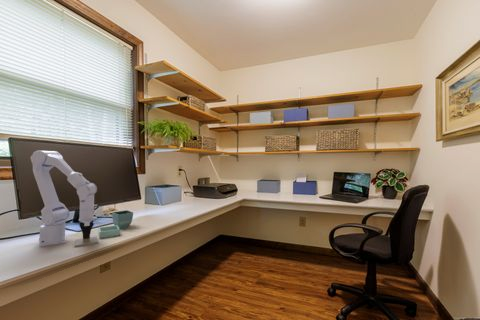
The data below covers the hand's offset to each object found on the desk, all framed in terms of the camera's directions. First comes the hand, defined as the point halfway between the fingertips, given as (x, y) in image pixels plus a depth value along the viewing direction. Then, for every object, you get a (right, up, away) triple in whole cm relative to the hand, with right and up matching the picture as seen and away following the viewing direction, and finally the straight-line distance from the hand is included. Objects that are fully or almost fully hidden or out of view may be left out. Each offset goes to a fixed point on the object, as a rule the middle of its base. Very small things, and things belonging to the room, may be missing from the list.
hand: (86, 237), depth 108 cm
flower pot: (+4, -3, +25) cm, 26 cm away
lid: (0, -2, 0) cm, 2 cm away
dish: (+4, -3, +12) cm, 12 cm away
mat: (0, -3, 0) cm, 3 cm away
